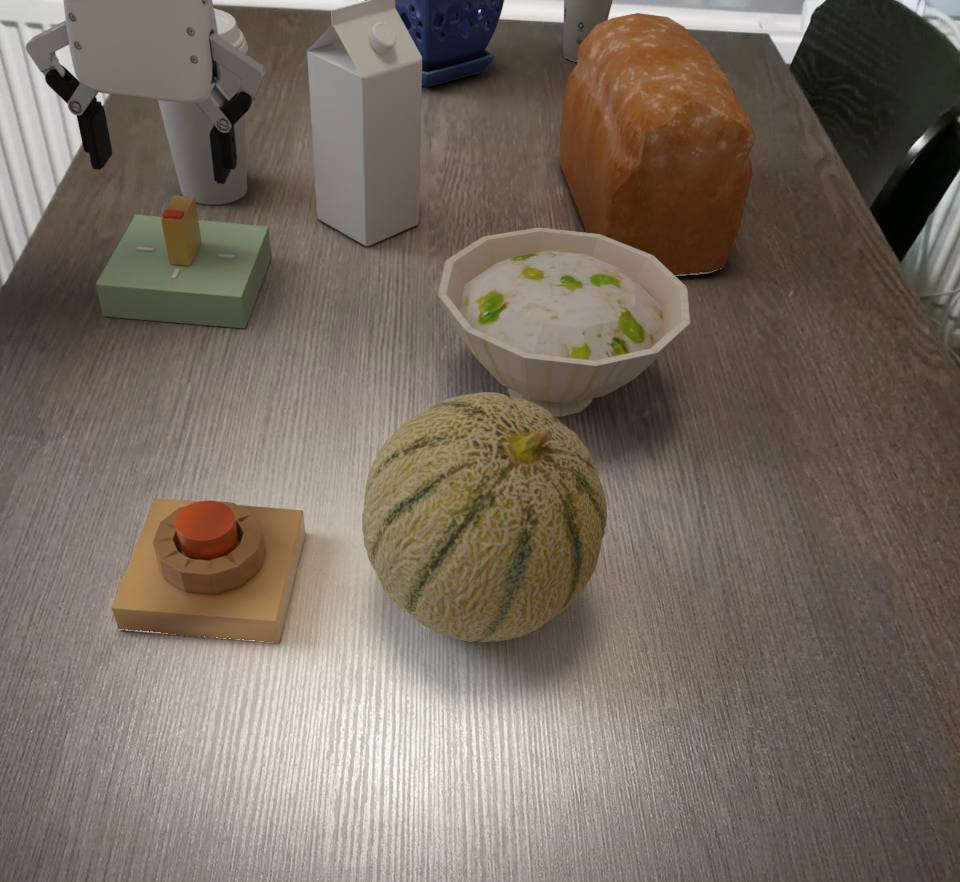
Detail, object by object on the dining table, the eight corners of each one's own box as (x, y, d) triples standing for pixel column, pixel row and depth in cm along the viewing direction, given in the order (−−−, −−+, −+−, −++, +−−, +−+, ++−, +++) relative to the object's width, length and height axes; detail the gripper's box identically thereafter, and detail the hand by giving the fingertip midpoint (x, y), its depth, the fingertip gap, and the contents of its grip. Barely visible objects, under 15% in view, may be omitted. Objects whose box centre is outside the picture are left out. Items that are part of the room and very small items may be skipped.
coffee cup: (169, 167, 100) (140, 0, 88) (264, 168, 101) (247, 4, 89) (160, 211, 94) (128, 39, 82) (261, 213, 95) (242, 43, 83)
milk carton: (316, 220, 95) (302, -3, 80) (370, 198, 98) (366, -19, 84) (366, 249, 92) (361, 23, 77) (419, 225, 95) (424, 5, 81)
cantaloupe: (383, 511, 69) (382, 323, 57) (589, 537, 68) (628, 353, 57) (343, 674, 59) (331, 487, 48) (582, 704, 59) (627, 523, 47)
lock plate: (103, 316, 82) (94, 282, 79) (142, 245, 89) (135, 212, 87) (245, 329, 82) (241, 295, 80) (271, 257, 90) (268, 224, 87)
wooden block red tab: (181, 240, 85) (172, 192, 81) (202, 241, 85) (194, 193, 82) (169, 264, 82) (160, 215, 79) (190, 266, 82) (182, 217, 79)
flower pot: (355, 63, 121) (352, -50, 112) (436, 42, 127) (439, -67, 118) (425, 100, 115) (427, -16, 106) (505, 76, 121) (514, -35, 112)
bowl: (634, 494, 72) (663, 380, 64) (395, 424, 75) (395, 308, 67) (689, 358, 84) (719, 248, 76) (481, 304, 87) (489, 193, 79)
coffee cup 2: (617, 59, 127) (631, -30, 120) (583, 71, 124) (596, -19, 116) (577, 43, 130) (588, -45, 123) (543, 54, 127) (552, -35, 119)
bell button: (173, 558, 59) (167, 537, 58) (187, 518, 62) (182, 497, 60) (231, 563, 60) (228, 542, 58) (243, 523, 62) (240, 502, 60)
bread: (595, 280, 91) (626, 102, 79) (550, 155, 108) (569, -7, 96) (736, 280, 93) (786, 106, 81) (670, 157, 109) (704, -2, 97)
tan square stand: (118, 631, 60) (103, 587, 57) (160, 521, 66) (149, 476, 63) (279, 644, 60) (273, 601, 57) (305, 533, 67) (301, 489, 64)
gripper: (264, -88, 68) (279, 161, 81) (13, -120, 67) (69, 137, 80) (242, -57, 63) (262, 203, 76) (-29, -91, 62) (38, 177, 75)
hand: (163, 169), depth 78 cm, fingers open, 9 cm apart
